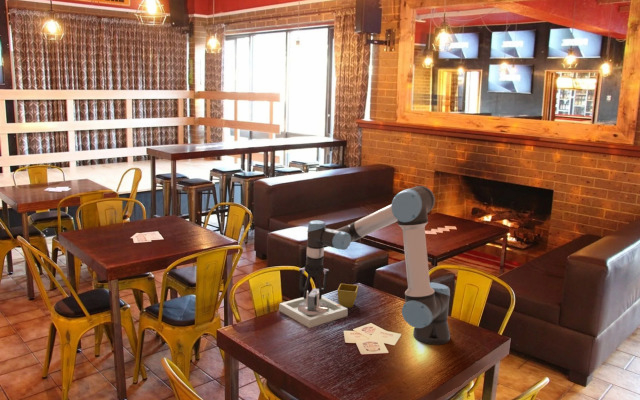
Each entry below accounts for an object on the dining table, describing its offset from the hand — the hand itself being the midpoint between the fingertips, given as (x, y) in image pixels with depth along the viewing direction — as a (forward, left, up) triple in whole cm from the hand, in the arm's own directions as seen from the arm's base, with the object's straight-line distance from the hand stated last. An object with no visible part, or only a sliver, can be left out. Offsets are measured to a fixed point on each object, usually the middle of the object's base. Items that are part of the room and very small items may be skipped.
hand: (312, 305), depth 254 cm
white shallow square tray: (+2, -2, -5) cm, 5 cm away
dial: (+2, -2, -3) cm, 4 cm away
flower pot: (0, -21, -5) cm, 22 cm away
